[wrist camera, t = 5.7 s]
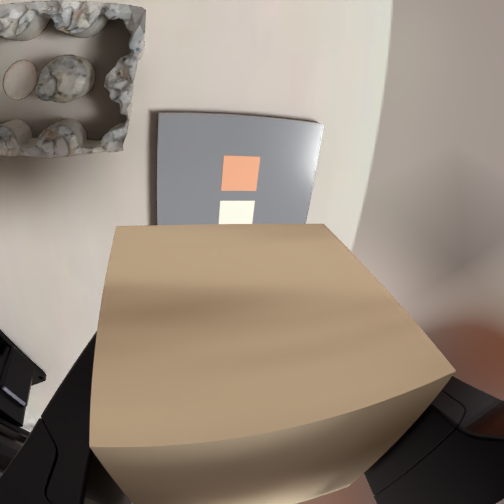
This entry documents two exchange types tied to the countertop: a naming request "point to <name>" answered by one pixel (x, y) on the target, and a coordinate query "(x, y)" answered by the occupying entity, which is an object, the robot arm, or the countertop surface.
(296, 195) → the tile
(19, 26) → the egg carton
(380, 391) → the maple block
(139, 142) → the countertop surface
